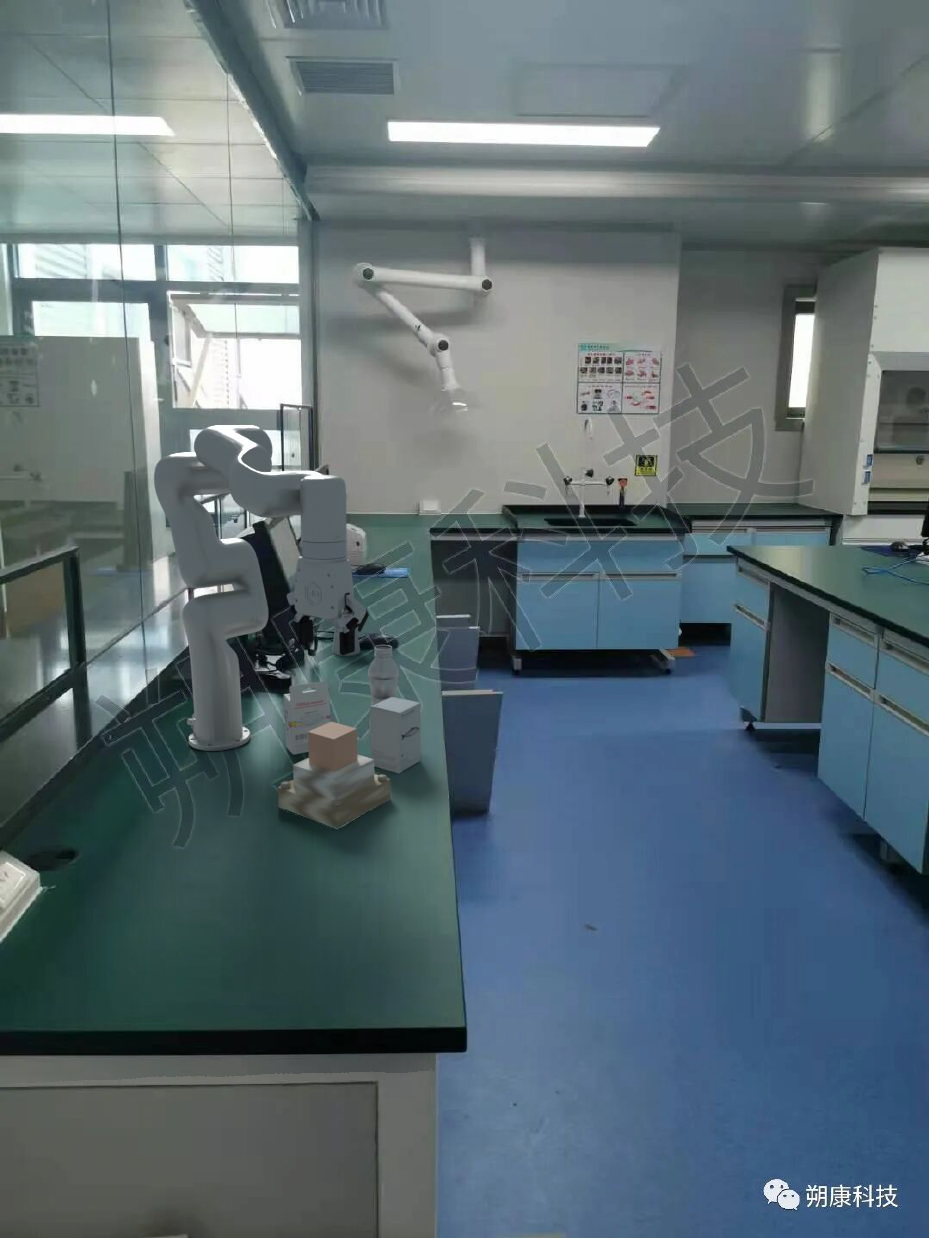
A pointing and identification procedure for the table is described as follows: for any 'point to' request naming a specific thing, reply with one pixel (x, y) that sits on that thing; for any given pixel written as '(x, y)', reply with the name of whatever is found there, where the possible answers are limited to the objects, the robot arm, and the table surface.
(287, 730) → the ink cartridge box
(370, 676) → the plastic bottle
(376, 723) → the supplement box
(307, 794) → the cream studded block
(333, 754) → the tan cube
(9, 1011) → the table surface
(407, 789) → the table surface
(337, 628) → the coffee maker
